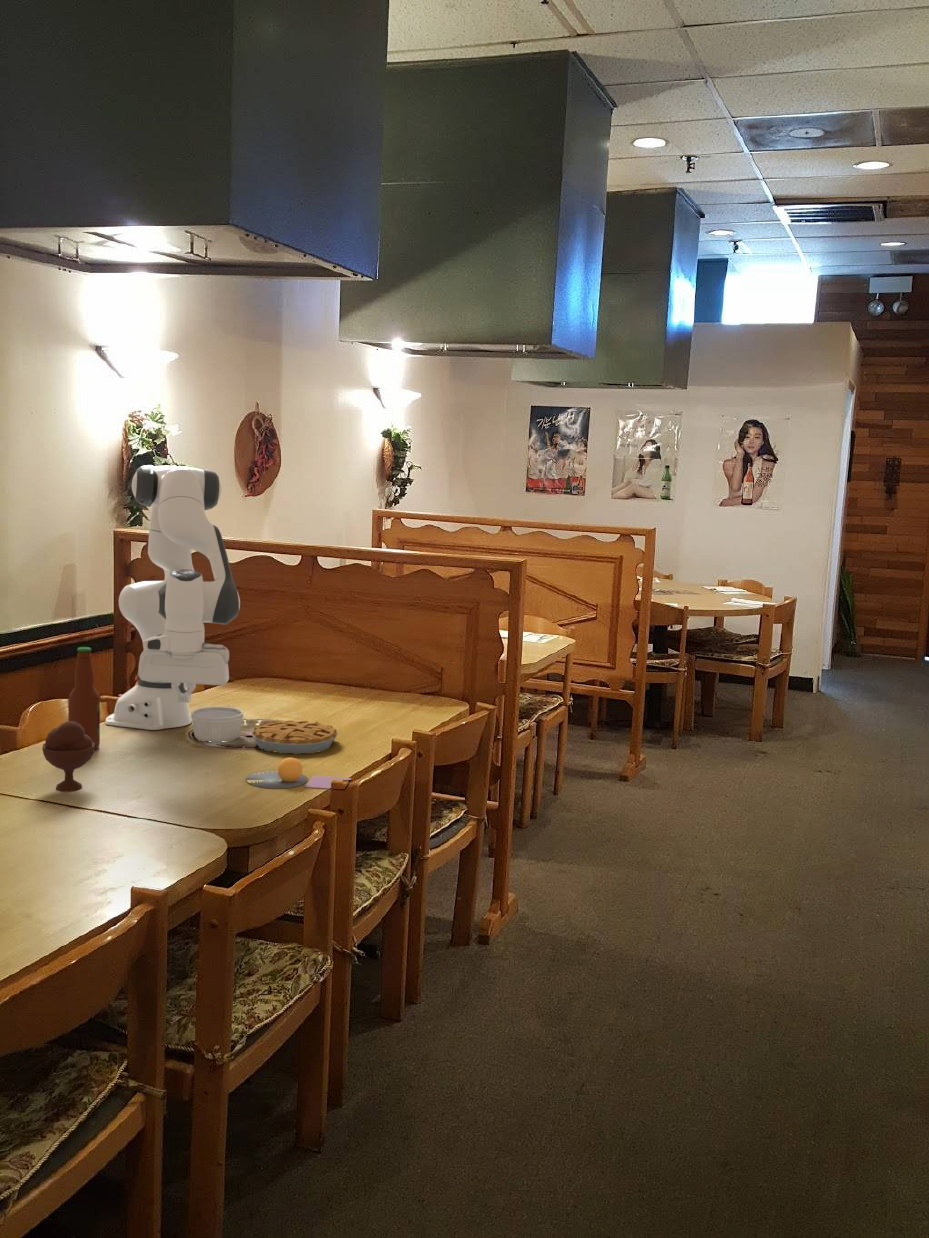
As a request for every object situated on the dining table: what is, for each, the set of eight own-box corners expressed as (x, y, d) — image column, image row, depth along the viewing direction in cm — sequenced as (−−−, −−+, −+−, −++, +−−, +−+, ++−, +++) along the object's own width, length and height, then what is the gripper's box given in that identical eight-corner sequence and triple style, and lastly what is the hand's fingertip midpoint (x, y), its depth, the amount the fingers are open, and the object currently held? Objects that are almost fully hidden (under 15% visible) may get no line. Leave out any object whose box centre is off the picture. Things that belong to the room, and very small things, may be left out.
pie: (321, 760, 273) (321, 740, 272) (237, 751, 277) (238, 732, 276) (347, 739, 294) (348, 721, 293) (270, 732, 298) (270, 713, 297)
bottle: (106, 746, 274) (106, 647, 271) (84, 753, 268) (84, 651, 264) (83, 742, 277) (83, 644, 274) (61, 748, 271) (61, 648, 267)
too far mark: (305, 787, 249) (305, 786, 249) (313, 776, 258) (313, 775, 258) (344, 790, 248) (344, 789, 248) (351, 779, 257) (351, 778, 257)
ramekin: (217, 747, 280) (217, 720, 279) (179, 738, 286) (180, 712, 286) (253, 737, 291) (253, 711, 290) (216, 729, 298) (217, 703, 297)
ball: (301, 766, 249) (292, 788, 249) (309, 761, 254) (300, 782, 255) (279, 756, 249) (270, 778, 250) (287, 751, 255) (279, 773, 256)
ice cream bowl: (105, 784, 244) (105, 717, 242) (72, 797, 233) (72, 728, 231) (65, 777, 247) (65, 712, 245) (31, 790, 237) (30, 722, 235)
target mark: (238, 786, 247) (238, 785, 247) (254, 769, 261) (254, 768, 261) (300, 790, 246) (300, 789, 246) (313, 773, 260) (313, 772, 260)
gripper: (233, 642, 253) (232, 701, 255) (145, 637, 254) (145, 696, 256) (225, 647, 247) (224, 707, 249) (135, 641, 248) (135, 701, 250)
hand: (183, 701), depth 253 cm, fingers closed
